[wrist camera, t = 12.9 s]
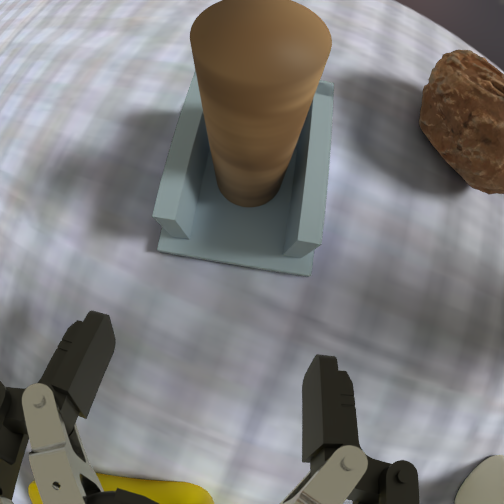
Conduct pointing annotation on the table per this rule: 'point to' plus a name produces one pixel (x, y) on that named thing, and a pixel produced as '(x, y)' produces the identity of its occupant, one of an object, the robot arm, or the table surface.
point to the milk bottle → (484, 483)
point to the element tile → (146, 490)
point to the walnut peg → (256, 89)
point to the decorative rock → (467, 118)
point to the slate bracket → (245, 218)
